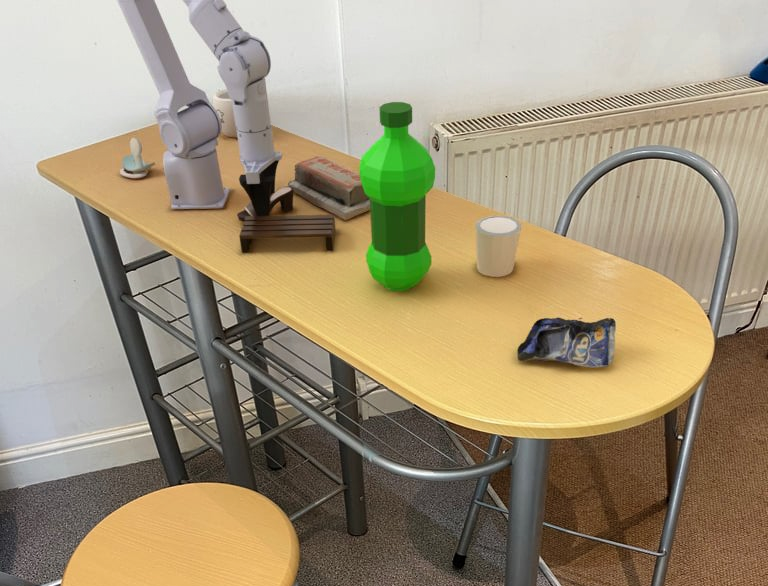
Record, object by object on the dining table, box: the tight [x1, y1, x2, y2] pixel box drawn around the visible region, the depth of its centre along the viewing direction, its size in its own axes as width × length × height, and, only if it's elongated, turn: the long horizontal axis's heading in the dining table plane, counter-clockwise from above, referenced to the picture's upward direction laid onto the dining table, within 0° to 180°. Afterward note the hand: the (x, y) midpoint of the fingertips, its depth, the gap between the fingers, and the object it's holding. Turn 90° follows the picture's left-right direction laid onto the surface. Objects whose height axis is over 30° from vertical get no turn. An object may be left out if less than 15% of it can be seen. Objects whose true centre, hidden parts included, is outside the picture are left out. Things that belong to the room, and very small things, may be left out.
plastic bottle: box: [358, 101, 436, 292], centre depth 108 cm, size 10×10×25 cm
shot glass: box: [475, 215, 522, 278], centre depth 117 cm, size 7×7×7 cm
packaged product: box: [287, 155, 370, 221], centre depth 137 cm, size 18×5×10 cm
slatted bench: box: [238, 214, 337, 254], centre depth 126 cm, size 15×7×3 cm, turn 89°
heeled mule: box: [236, 185, 294, 223], centre depth 133 cm, size 4×11×4 cm, turn 120°
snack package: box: [516, 317, 617, 368], centre depth 101 cm, size 12×6×12 cm
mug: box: [212, 88, 238, 139], centre depth 159 cm, size 12×8×8 cm
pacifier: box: [119, 137, 156, 179], centre depth 148 cm, size 7×6×6 cm
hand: (265, 208), depth 134 cm, fingers closed on heeled mule, 5 cm apart
